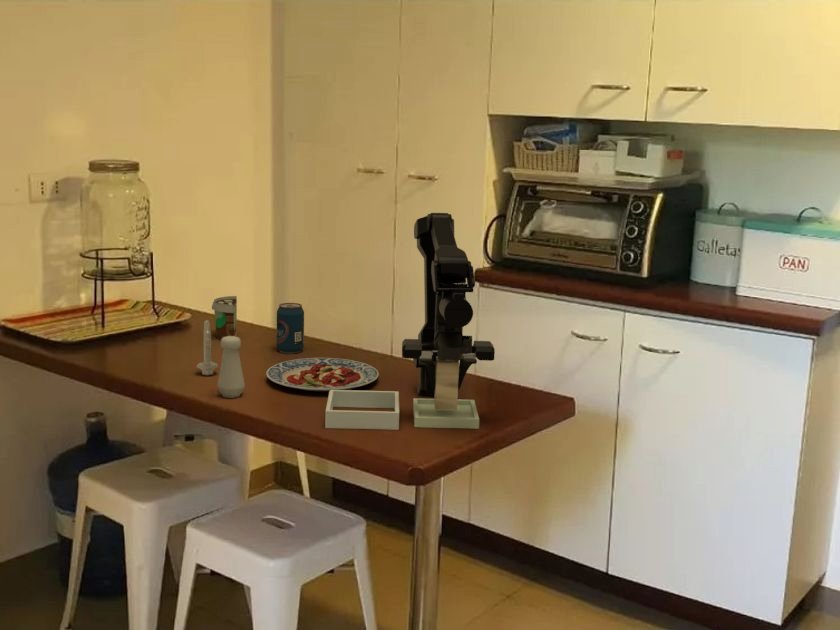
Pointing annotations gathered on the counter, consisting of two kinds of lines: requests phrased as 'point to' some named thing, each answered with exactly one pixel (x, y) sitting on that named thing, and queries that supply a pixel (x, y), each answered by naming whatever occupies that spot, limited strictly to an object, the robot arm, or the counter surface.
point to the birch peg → (446, 384)
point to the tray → (445, 415)
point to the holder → (362, 417)
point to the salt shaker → (230, 368)
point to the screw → (207, 352)
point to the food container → (225, 316)
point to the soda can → (290, 328)
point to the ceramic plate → (322, 374)
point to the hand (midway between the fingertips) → (446, 389)
